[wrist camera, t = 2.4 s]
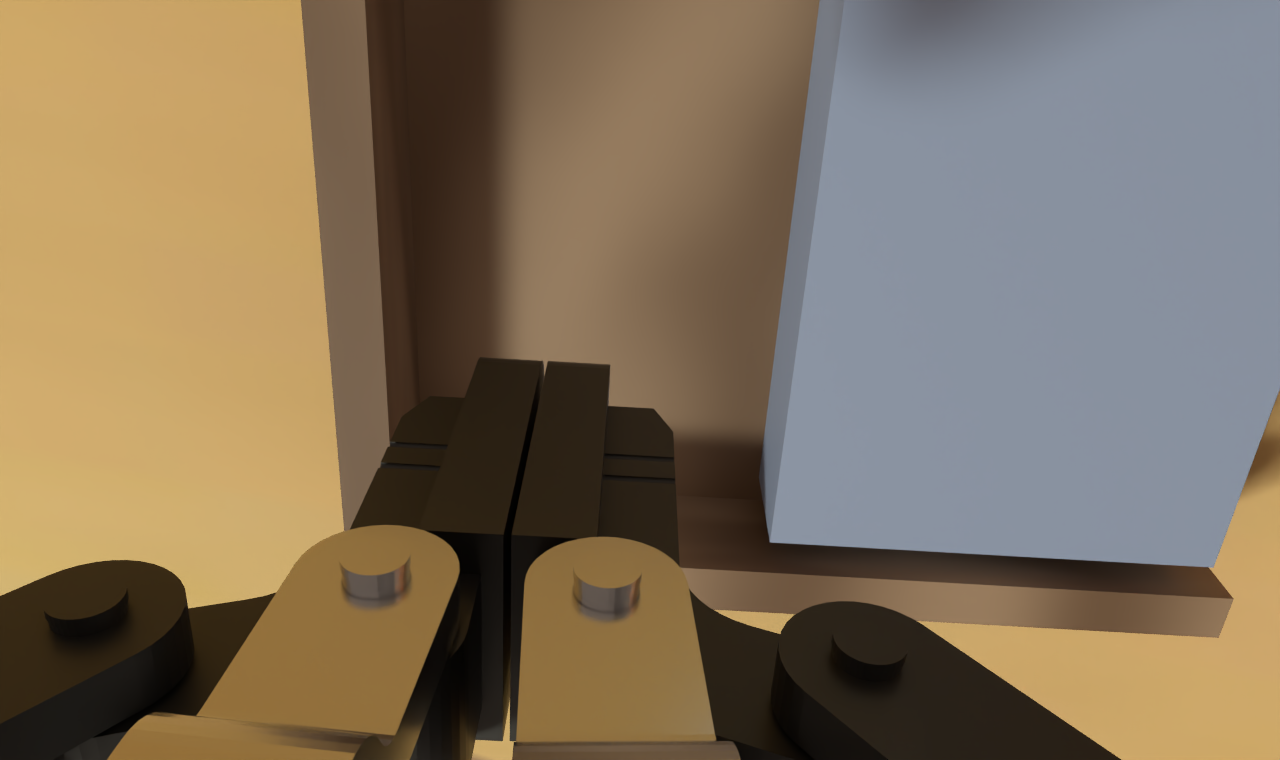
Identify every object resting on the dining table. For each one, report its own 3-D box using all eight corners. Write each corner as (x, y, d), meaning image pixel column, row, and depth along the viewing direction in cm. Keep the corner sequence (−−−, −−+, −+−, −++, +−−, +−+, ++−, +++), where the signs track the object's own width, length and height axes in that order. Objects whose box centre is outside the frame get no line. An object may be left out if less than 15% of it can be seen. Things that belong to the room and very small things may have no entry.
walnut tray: (1388, -188, 18) (1544, -202, 15) (1146, 539, 24) (1218, 637, 21) (345, -258, 18) (277, -286, 14) (388, 496, 24) (348, 589, 21)
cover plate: (1353, -87, 18) (1454, -82, 16) (1158, 500, 23) (1213, 567, 21) (835, -121, 18) (861, -120, 15) (758, 477, 23) (770, 542, 21)
